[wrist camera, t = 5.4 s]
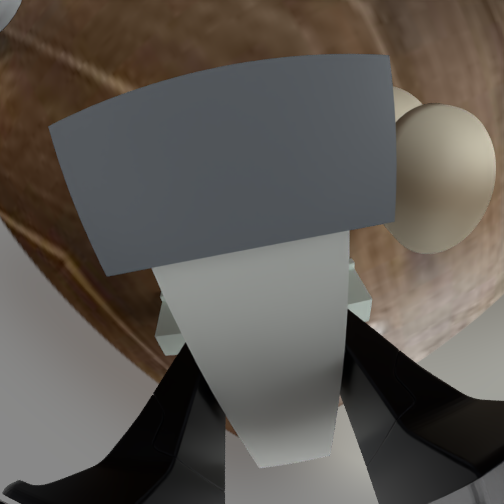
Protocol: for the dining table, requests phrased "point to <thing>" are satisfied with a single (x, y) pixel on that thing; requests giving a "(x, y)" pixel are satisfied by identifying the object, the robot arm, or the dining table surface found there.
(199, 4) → the dining table surface
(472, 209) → the bobbin
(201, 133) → the mallet
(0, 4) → the chalice
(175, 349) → the notched board
